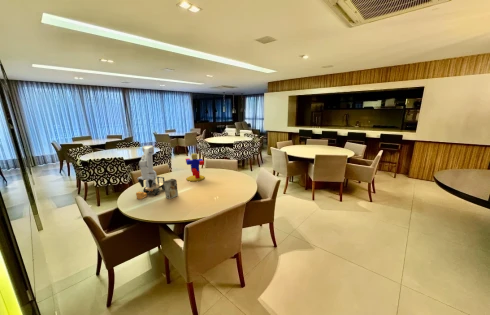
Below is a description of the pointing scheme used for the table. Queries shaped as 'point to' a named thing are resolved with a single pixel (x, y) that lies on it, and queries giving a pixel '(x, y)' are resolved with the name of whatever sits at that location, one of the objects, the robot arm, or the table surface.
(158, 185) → the wooden toy car
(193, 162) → the figurine
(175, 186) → the coffee box
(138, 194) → the block
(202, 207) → the table surface
